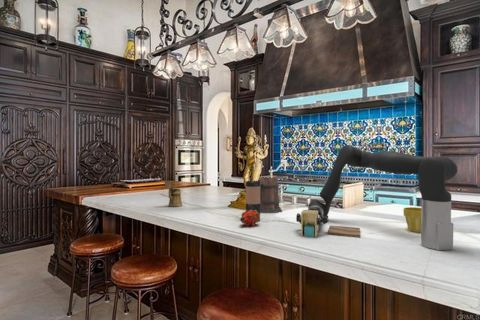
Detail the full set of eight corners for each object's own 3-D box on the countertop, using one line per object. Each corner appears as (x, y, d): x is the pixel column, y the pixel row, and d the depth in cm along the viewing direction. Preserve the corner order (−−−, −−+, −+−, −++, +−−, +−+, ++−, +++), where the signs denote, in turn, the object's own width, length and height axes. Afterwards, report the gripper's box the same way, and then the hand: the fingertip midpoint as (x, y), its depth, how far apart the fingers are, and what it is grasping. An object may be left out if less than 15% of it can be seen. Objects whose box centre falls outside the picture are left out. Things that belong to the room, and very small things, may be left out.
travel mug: (263, 219, 157) (263, 181, 157) (253, 221, 151) (253, 182, 151) (252, 217, 162) (252, 180, 162) (242, 219, 157) (242, 181, 156)
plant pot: (397, 229, 137) (398, 207, 137) (413, 227, 141) (413, 206, 141) (419, 234, 128) (419, 211, 127) (435, 232, 132) (435, 210, 131)
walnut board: (329, 227, 140) (329, 225, 140) (359, 230, 135) (359, 227, 135) (327, 234, 128) (327, 232, 128) (360, 237, 123) (360, 235, 123)
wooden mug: (160, 207, 192) (160, 179, 191) (174, 204, 204) (174, 178, 203) (171, 208, 188) (171, 180, 187) (185, 205, 199) (185, 178, 199)
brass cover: (303, 232, 131) (303, 209, 131) (318, 233, 129) (318, 210, 128) (301, 236, 125) (301, 212, 125) (316, 237, 123) (316, 213, 123)
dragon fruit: (260, 226, 148) (243, 234, 139) (249, 215, 152) (232, 222, 144) (267, 214, 143) (249, 222, 135) (255, 202, 148) (238, 209, 139)
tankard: (263, 207, 194) (263, 176, 193) (287, 209, 184) (287, 177, 184) (243, 213, 174) (243, 178, 174) (269, 216, 165) (269, 180, 165)
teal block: (305, 233, 129) (305, 224, 129) (315, 234, 128) (315, 225, 128) (304, 236, 126) (304, 226, 126) (314, 236, 124) (314, 227, 124)
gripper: (299, 205, 143) (291, 211, 127) (330, 207, 137) (327, 214, 122) (298, 221, 143) (291, 229, 127) (330, 223, 138) (327, 232, 122)
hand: (309, 222), depth 125 cm, fingers closed on brass cover, 6 cm apart
